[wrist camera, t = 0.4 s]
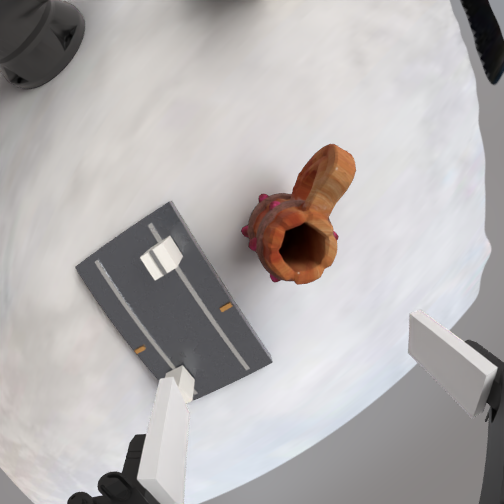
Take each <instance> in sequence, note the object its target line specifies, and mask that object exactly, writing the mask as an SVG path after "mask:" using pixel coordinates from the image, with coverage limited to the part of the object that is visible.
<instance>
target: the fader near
mask: <svg viewBox="0 0 504 504" xmlns="http://www.w3.org/2000/svg"><path fill="white" fill-rule="evenodd" d="M182 257H183V255H182V254H181V252H180V250H179V249H178V247H177V246H176V244H175V243H174V241H173V239H172V238H171V236H168V237H167V238H165V239H163V240H162V241H160V242H159V243H157V244H156V245H154V246H152V247H151V248H150V249H149V250H147V251H146V252H145V253H144V254H143V255H142V256H141V257H140V259H141V260H142V262H143V263H144V265H145V266H146V268H147V269H148V271H149V272H150V274H151V276H152V277H153V279H154V280H157V279H159V278H160V277H162V276H164V275H166V274H167V273H168V272H170V271H172V270H173V269H175V268H177V267H178V265H179V263H180V261H181V259H182Z"/></svg>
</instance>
